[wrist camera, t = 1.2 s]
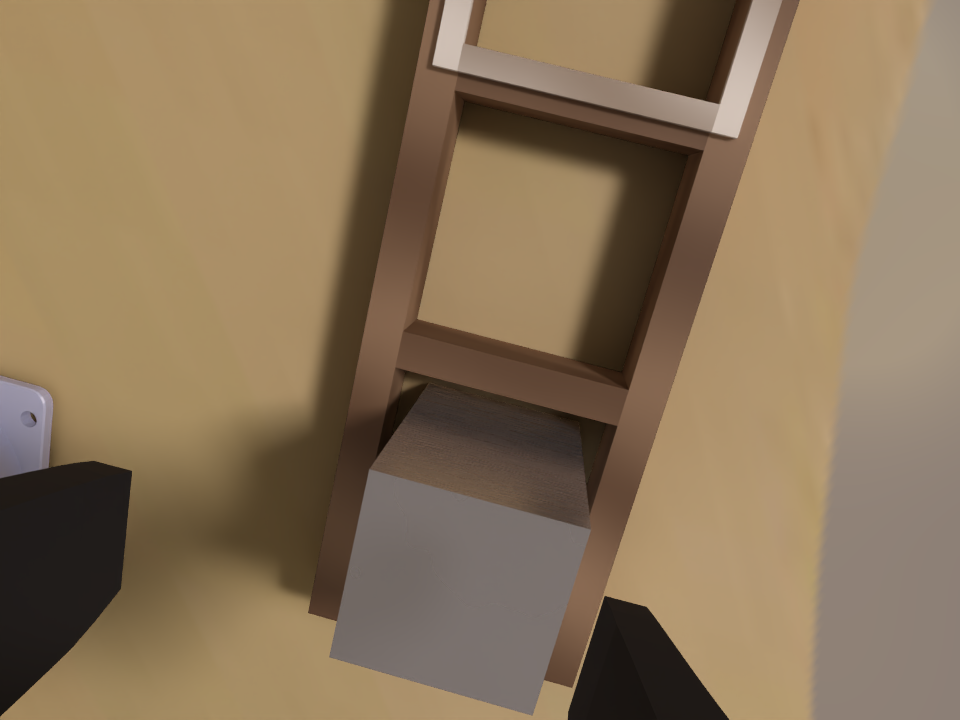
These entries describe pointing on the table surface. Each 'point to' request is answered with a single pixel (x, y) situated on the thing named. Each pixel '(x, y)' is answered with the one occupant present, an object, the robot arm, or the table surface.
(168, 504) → the table surface
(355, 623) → the block
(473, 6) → the brown wooden compartment tray
